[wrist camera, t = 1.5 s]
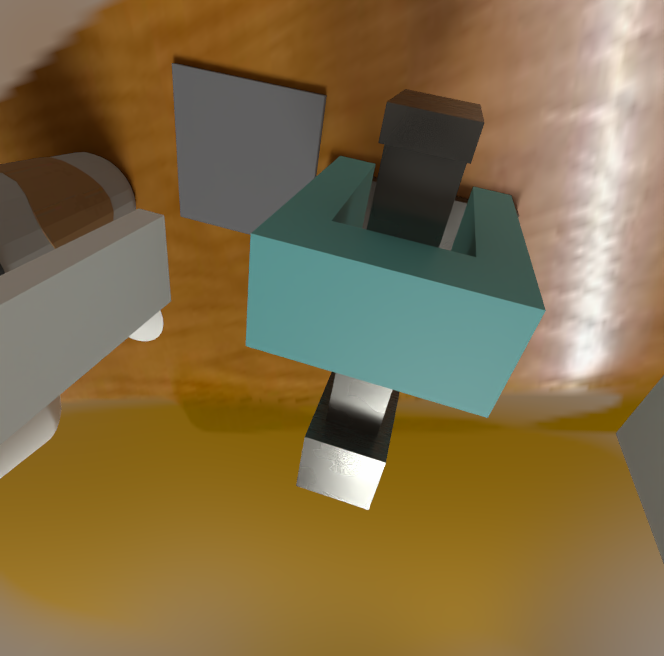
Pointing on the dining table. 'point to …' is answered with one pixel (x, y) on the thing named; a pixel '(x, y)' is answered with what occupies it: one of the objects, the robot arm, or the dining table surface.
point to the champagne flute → (55, 414)
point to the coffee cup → (56, 203)
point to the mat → (242, 146)
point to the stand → (407, 223)
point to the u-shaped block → (393, 293)
